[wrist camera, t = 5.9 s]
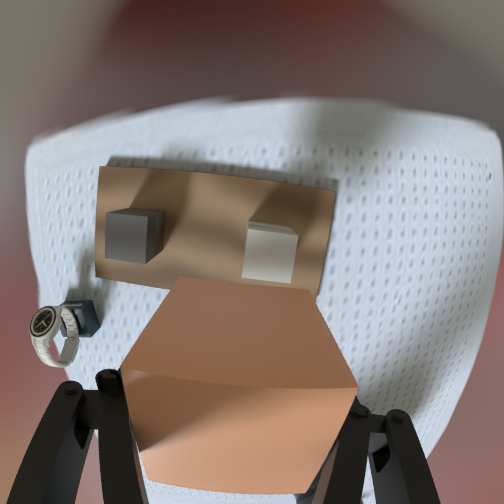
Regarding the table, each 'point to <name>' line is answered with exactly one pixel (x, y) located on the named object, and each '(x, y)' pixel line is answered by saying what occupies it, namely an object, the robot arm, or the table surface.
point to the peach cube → (236, 388)
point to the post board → (209, 229)
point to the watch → (63, 329)
